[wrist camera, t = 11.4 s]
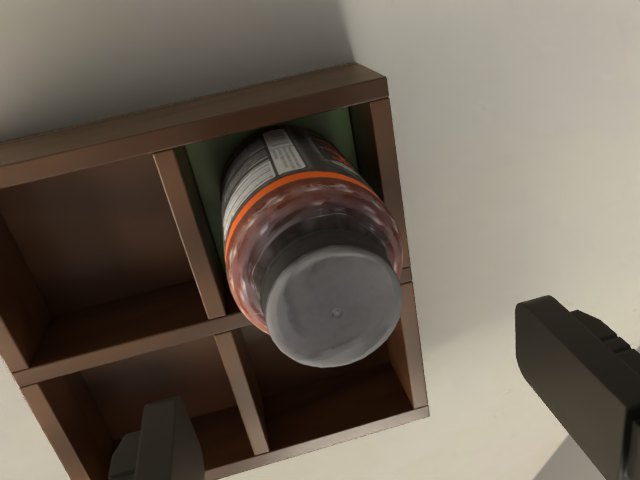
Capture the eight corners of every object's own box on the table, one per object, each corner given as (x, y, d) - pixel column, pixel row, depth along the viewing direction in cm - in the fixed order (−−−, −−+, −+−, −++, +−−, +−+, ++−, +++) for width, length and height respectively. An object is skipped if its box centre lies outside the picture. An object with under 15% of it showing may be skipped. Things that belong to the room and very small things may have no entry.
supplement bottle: (370, 189, 26) (475, 315, 16) (275, 265, 27) (319, 431, 17) (293, 91, 24) (361, 170, 14) (190, 178, 24) (182, 314, 14)
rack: (-43, 152, 23) (-97, 188, 19) (355, 61, 24) (387, 76, 20) (106, 446, 30) (91, 517, 26) (400, 362, 32) (430, 416, 28)
